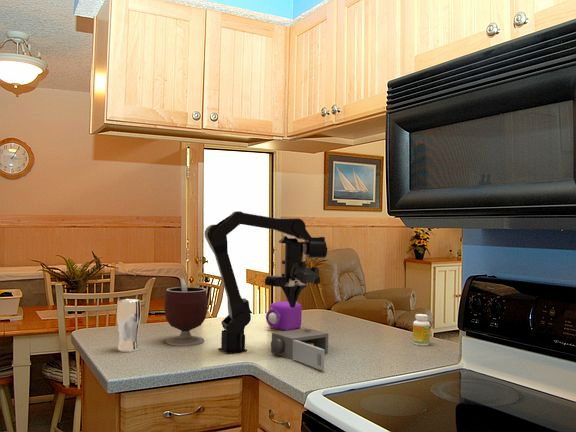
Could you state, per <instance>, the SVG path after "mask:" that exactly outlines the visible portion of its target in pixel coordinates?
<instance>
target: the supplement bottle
mask: <svg viewBox="0 0 576 432" xmlns="http://www.w3.org/2000/svg"><path fill="white" fill-rule="evenodd" d="M414 317H415V320H414V321H413V323H412V324H413V325H412V332H413V333H412V343H413V345H416V346H423V347H426V346H430V342H431V341H430V339H431V336H430V335H431V334H430V333H431V331H430V329H431V328H430V327H431V323H430V322H429V321H428V320H429V316H428V314H424V313H416V314H415V316H414Z"/></svg>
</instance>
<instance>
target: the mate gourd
mask: <svg viewBox="0 0 576 432" xmlns="http://www.w3.org/2000/svg"><path fill="white" fill-rule="evenodd" d="M180 281H181V282H180V286H178V287H177V286H176V287H175V286H174V287H170V288H169V287H168V288H167V289H166V292H165V296H164V307H163V308H164V316H165V319H166V321H167V323H168V324H169V325H170V326H171V327H172V328H174V329H177V330H179V331H180V334H179V335H177V336H172V337H168V338H166V340H165V343H166V344H168V345H171V346H176V347H177V346H179V347H187V346H188V347H189V346H198V345H201V344H203V343H205V338H204V337H202V336H197V335H196V336H194V335H192V334H191V331H192V330H194V329H196V328H199V327H200V326H201V325H202V324H204V323H203V322H205V320H206V316H207V313H208V308H209V307H208V306H209V304H208V293H207V288H205V287H197V286H196V287H194V286H187V283H186V281H185V279H184V278H183V277H181V278H180Z"/></svg>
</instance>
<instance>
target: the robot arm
mask: <svg viewBox="0 0 576 432" xmlns="http://www.w3.org/2000/svg"><path fill="white" fill-rule="evenodd" d="M240 225H244V226H250V227H255V228H256V227H257V228H262V229H268V230H273V231H276V232H279V233H281V234H283V236H282V238H281V239H279V240H278V243H279V244H284V260H281V265H284V269H283V270H284V273H281V276H280V275H266V277H265V278H264V286H270V287H277V288H278V287H279V288H281V289H282V291H283V293H284V296H285V297H286V301H287V302H289V304H290V307H292V308H293V307H295V305H296V302H297V303H298V299H299V296H300V294H301V292H302V291H303V290H304V289H305V288H307V287H308V285H306V284H313V285H317V284H321V277H320V268H319V267H318V266H311V267H307V263H306V261H304V256H305V257H306V258H308V259H325V258H326V257H327V256H328V247H327V242H326V238H325V236H317V237H314V236H311V235H310V233H309V232H308V230H307V229H306V227H307V226H306V223H305V221H304V220H303V219H301V218H295V217H293V218H291V217H290V218H284V217H283V218H280V217H279V218H275V217H271V216H264V215H258V214H253V213H247V212H243V211H239V210H238V211H237V210H236V211H233V212H232V213H231V214H230V215H228V216H227V217H225V218H224V219H222V220H220V221H219V222H218V223H217V224H210V225H208V226H207V227H206V228H205V230H204V233H203V234H204V238H205V240H206V242H207V244H208V246H209V248H210V250H211V251H212V253H213V254H214V258H215V260H216V264H217V267H218V271H219V275H220V277H221V281H222V284H223V287H224V291H225V295H226V298H227V312H228V313H227V314H228V315H226V317H224V318H223V320H222V321H221V325H222V328H223V329H222V330H221V336H220V337H221V340H220V341H221V343H220V344H221V346H220V347H218V350H219V351H221V352H224V353H225V354H236V353H242V352H247V349H246V334H245V329H246V327H247V326H248V325H249V323H250V322H251V319H252V314H253V311H252V310H251V309H250V301H249V300H248V299H247V298H246V297H243V298H242V296H241V293H240V289H239V286H238V283H237V279H236V276H235V272H234V269H233V266H232V262H231V258H230V257H229V253H228V234H230V233H231V232H233V231H234V230H235V229H236V228H237V227H239V226H240ZM288 236H289V237H290V238H289V237H288ZM299 240H304V241H299Z"/></svg>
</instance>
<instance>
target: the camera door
mask: <svg viewBox="0 0 576 432" xmlns="http://www.w3.org/2000/svg"><path fill="white" fill-rule="evenodd" d="M291 360H295V361H297V362H300V363H302V364H304V365H307V366H310V367H312V368H314V369H317V370H319V371H325V350H324V349H321V348H318V347H315V346H313V345H310V344H307V343H304V342H301V341H298V340H293V356H292V359H291Z"/></svg>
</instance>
